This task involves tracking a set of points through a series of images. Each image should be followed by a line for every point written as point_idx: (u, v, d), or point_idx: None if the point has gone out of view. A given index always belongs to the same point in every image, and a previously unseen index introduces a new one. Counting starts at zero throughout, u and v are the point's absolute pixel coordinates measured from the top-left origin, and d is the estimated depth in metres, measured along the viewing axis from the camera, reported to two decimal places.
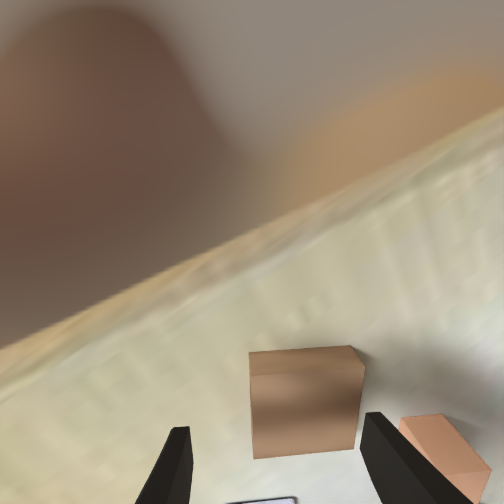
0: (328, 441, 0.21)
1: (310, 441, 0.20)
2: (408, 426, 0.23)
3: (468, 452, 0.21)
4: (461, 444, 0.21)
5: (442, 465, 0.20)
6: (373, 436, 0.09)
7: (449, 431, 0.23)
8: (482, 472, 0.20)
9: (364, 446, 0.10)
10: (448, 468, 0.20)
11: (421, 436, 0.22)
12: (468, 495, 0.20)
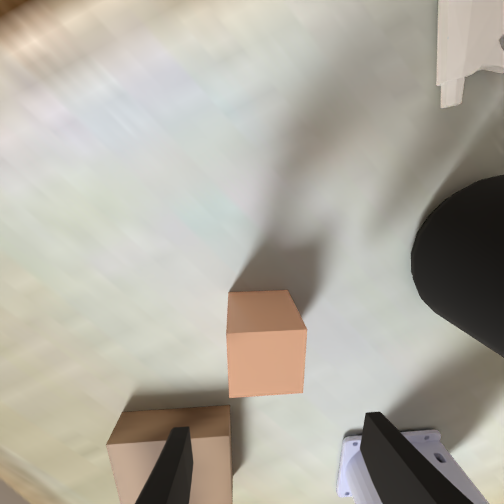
0: (213, 459, 0.18)
1: (212, 474, 0.19)
2: None
3: None
4: None
5: None
6: (373, 436, 0.09)
7: None
8: (231, 343, 0.13)
9: (364, 446, 0.10)
10: None
11: None
12: (281, 350, 0.13)
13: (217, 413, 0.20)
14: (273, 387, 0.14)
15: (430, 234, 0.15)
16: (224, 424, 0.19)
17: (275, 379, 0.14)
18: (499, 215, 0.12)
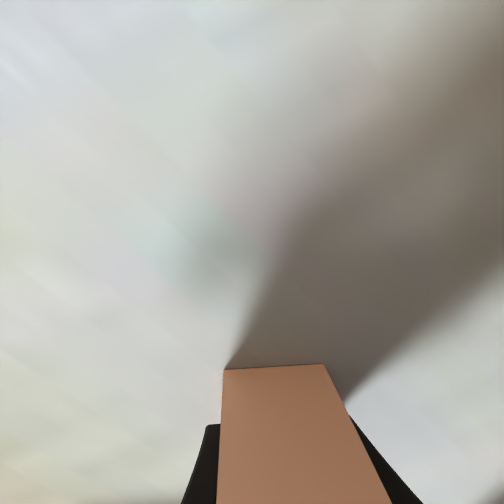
0: None
1: None
2: None
3: None
4: None
5: None
6: None
7: None
8: None
9: None
10: None
11: None
12: None
13: None
14: None
15: None
16: None
17: None
18: None
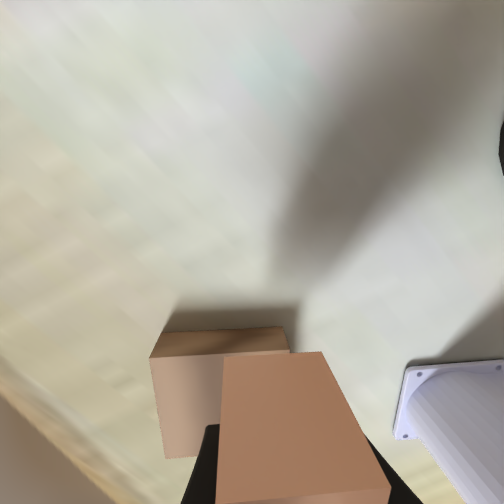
0: None
1: None
2: None
3: None
4: None
5: None
6: None
7: None
8: None
9: None
10: None
11: None
12: None
13: (270, 332, 0.17)
14: None
15: None
16: (281, 341, 0.16)
17: None
18: None
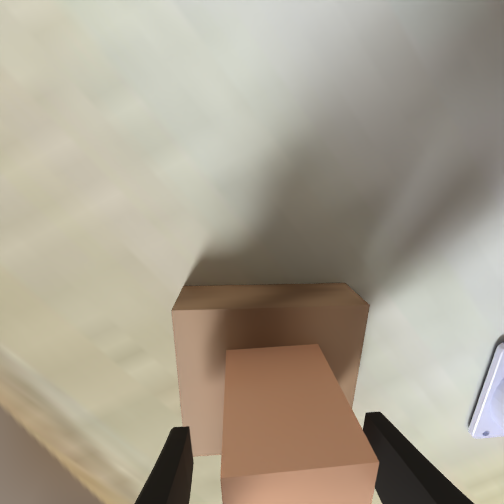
0: (337, 349, 0.12)
1: None
2: None
3: None
4: None
5: None
6: (373, 436, 0.09)
7: None
8: (231, 492, 0.07)
9: None
10: None
11: None
12: (327, 498, 0.07)
13: (332, 288, 0.13)
14: None
15: None
16: (352, 296, 0.12)
17: None
18: None
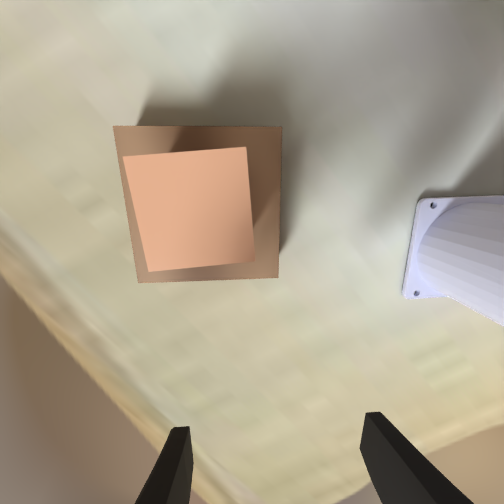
0: (259, 172, 0.14)
1: (255, 201, 0.14)
2: None
3: None
4: None
5: None
6: (373, 436, 0.09)
7: None
8: (135, 176, 0.09)
9: (364, 446, 0.10)
10: None
11: None
12: (212, 187, 0.09)
13: None
14: (210, 252, 0.10)
15: None
16: None
17: (211, 238, 0.09)
18: None
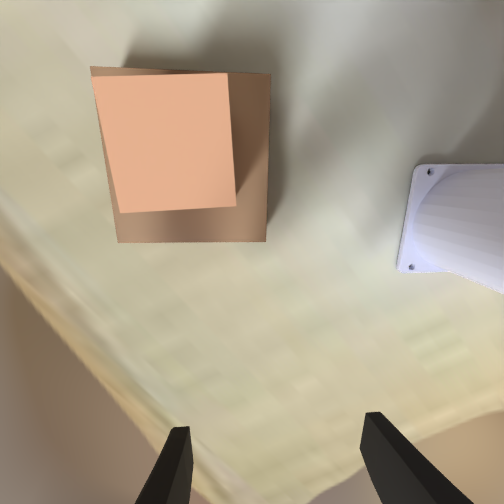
0: (246, 124, 0.13)
1: (242, 156, 0.13)
2: None
3: None
4: None
5: None
6: (373, 436, 0.09)
7: None
8: (105, 101, 0.08)
9: (364, 446, 0.10)
10: None
11: None
12: (190, 118, 0.08)
13: None
14: (188, 194, 0.09)
15: None
16: None
17: (189, 178, 0.09)
18: None
